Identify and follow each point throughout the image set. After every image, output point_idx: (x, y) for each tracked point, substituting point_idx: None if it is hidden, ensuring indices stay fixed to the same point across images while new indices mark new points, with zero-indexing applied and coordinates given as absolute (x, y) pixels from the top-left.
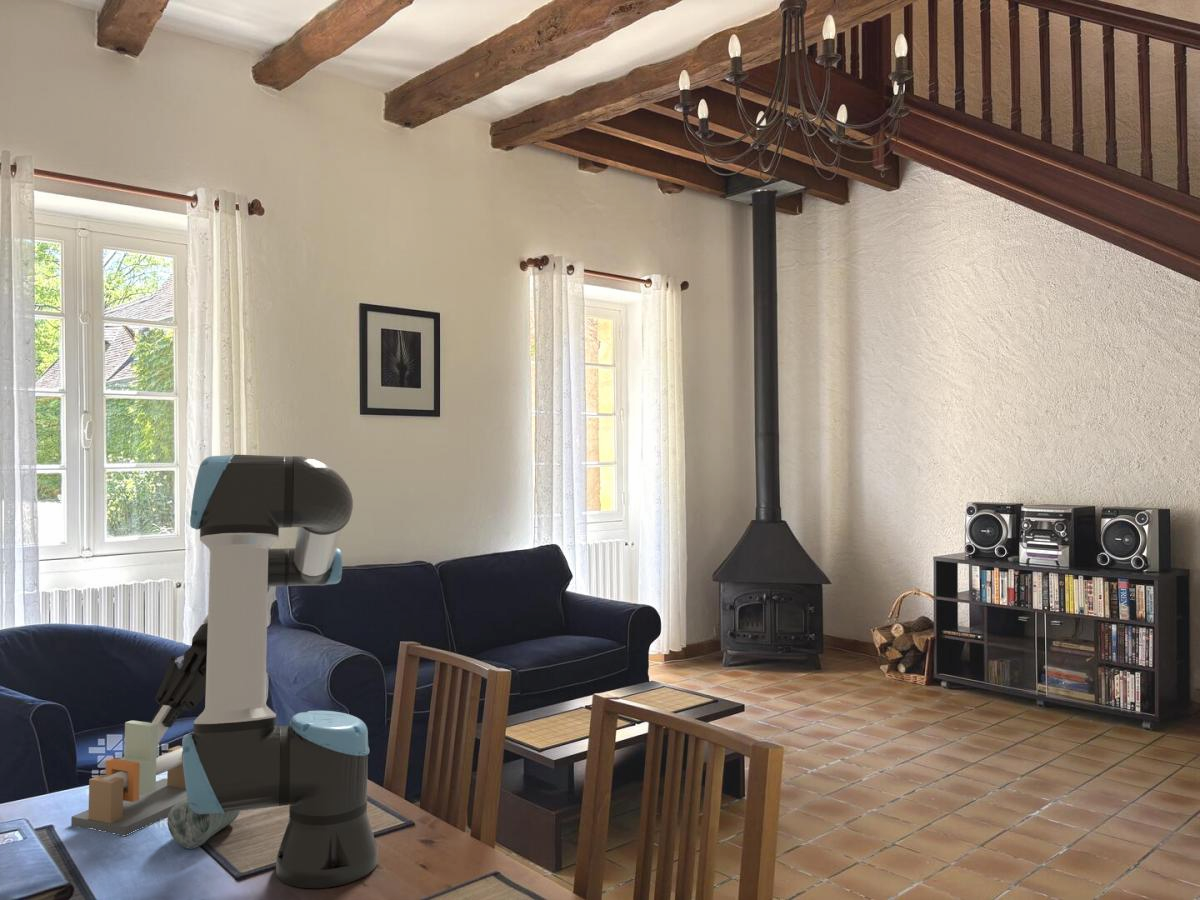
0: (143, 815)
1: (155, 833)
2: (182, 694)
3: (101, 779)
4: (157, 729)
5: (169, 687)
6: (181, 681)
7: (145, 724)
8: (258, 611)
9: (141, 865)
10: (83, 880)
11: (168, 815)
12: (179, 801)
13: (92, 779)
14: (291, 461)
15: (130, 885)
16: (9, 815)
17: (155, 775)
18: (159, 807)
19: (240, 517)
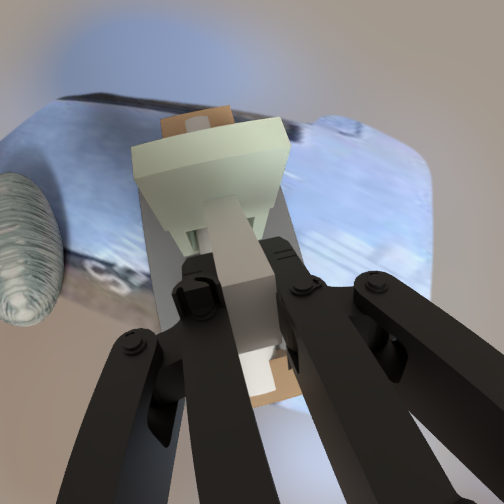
0: (156, 219)
1: (107, 216)
2: (188, 376)
3: (203, 117)
4: (139, 188)
5: (429, 389)
6: (357, 469)
7: (175, 144)
8: None
9: (45, 153)
10: (78, 99)
11: (24, 176)
12: (7, 185)
13: (221, 107)
14: None
15: (25, 128)
16: (383, 133)
17: (178, 245)
18: (166, 261)
19: None
